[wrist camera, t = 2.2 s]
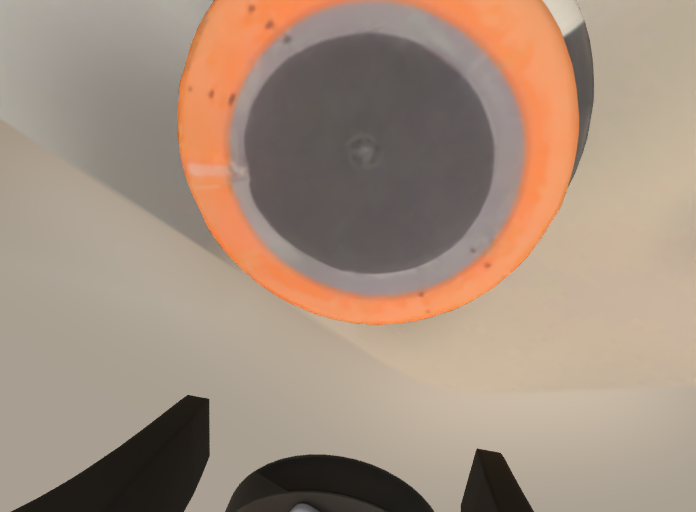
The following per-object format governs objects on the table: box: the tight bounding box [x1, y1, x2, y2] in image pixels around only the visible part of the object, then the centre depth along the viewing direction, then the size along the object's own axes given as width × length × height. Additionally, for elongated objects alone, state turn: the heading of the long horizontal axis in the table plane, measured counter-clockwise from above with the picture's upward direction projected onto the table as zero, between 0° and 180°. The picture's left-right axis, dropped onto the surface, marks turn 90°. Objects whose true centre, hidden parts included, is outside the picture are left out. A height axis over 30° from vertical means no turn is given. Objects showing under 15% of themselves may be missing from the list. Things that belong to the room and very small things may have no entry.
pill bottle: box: [178, 0, 594, 325], centre depth 10 cm, size 6×6×11 cm
